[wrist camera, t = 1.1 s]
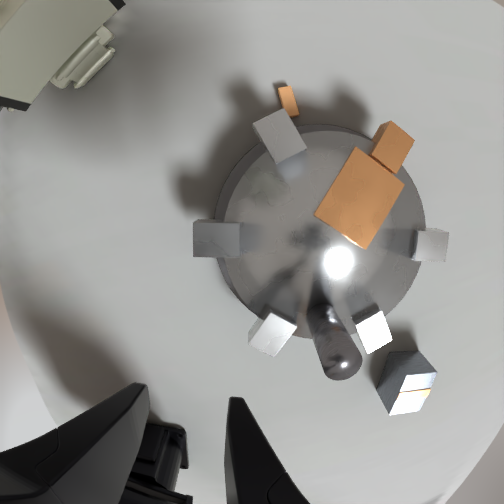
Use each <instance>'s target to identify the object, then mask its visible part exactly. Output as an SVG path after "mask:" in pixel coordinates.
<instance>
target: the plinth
mask: <svg viewBox="0 0 504 504" xmlns="http://www.w3.org/2000/svg"><path fill="white" fill-rule="evenodd" d="M278 94H279V97H280V100H281V104H282V107H283V108H284V109H285V110H286V112H287V114H288V115H289V117H290V118H292V117H297V116H299V111H298V108H297V104H296V101H295V98H294V95H293V91H292V88H291V86H286V87H281V88H278ZM296 129H297V131H298V133H299V134H300V135H301V134H304V133H310V132H316V131H339V132H346V133H350V134H354V135H358V136H361V137H363V138H365V139H368V140H370V141H371V139H369V138H367V137H366V136H364V135H362V134H360V133H357V132H355V131H352V130H350V129H347V128H343V127H339V126H334V125H324V124H313V125H303V126H297V127H296ZM265 152H266V150H265V149H264V147H263V145H262V143H261V142H260V143H259V144H257V145H256V146H254V147H253V148H252V149H251V150H250V151H249V152H248V153H247V154H246V155H245V156H243V157H242V159H241V160H240V161H239V162H238V164H237V165H236V166H235V167H234V168H233V170H232V172H231V173H230V175H229V177H228V178H227V180H226V182H225V184H224V186H223V188H222V191H221V193H220V195H219V199H218V203H217V206H216V210H215V217H214V219H222V220H224V219H225V214H226V211H227V207H228V204H229V201H230V199H231V196H232V194H233V192H234V190H235V188H236V186H237V184H238V183H239V181H240V179H241V178H242V176H243V175H244V173H245V172H246V171H247V170H248V169H249V167H250V166H251V165H252V164H253V163H254V162H255V161H256V160H257V159H258V158H259V157H260V156H261V155H263V154H264V153H265ZM217 260H218V263H219V267H220V269H221V271H222V274H223V276H224V278H225V280H226V282H227V283H228V285H229V287H230V288H231V290H232V291H233V293H234V294H235V295H236V296H237V298H238V299H239V300H240V301H241V302H242V303H243V304H244V305H245V306H246V307H247V308H248V309H249V307H248V306H247V305H246V304H245V302H244V301H243V300H242V299H241V297H240V296H239V294H238V292H237V291H236V289H235V287H234V286H233V283H232V281H231V278H230V276H229V274H228V270H227V267H226V263H225V259H224V258H221V257H217ZM249 310H250V311H252V310H251V309H249ZM252 312H253V311H252ZM253 313H254V312H253ZM254 314H255V313H254Z"/></svg>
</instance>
